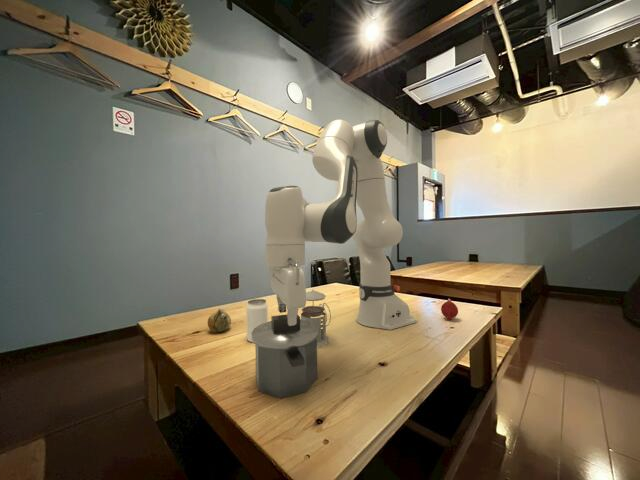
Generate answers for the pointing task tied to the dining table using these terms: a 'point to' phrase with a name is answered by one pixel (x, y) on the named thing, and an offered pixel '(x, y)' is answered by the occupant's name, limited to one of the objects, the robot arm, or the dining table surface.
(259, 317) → the can
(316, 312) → the french press
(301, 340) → the lid
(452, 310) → the onion
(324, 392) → the dining table surface
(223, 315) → the onion
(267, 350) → the pot
